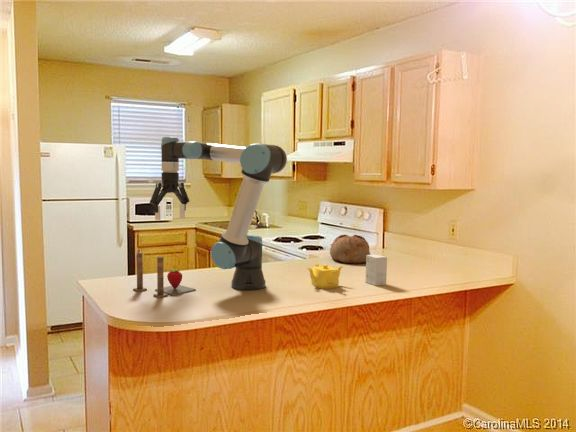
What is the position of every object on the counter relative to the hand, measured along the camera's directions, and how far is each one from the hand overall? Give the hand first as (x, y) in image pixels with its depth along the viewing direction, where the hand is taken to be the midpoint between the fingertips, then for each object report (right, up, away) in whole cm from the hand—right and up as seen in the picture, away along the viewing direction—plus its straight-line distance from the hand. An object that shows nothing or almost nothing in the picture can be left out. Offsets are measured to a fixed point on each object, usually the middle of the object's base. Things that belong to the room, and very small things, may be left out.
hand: (170, 219), depth 226 cm
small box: (+94, -30, +8) cm, 99 cm away
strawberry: (+5, -30, -13) cm, 33 cm away
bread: (+89, -25, +66) cm, 114 cm away
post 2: (+2, -31, -23) cm, 39 cm away
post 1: (-9, -30, -15) cm, 35 cm away
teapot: (+70, -31, +1) cm, 76 cm away
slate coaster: (+5, -30, -14) cm, 34 cm away
